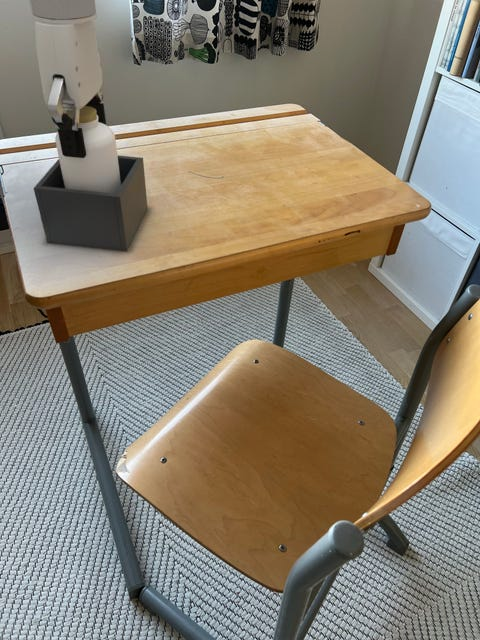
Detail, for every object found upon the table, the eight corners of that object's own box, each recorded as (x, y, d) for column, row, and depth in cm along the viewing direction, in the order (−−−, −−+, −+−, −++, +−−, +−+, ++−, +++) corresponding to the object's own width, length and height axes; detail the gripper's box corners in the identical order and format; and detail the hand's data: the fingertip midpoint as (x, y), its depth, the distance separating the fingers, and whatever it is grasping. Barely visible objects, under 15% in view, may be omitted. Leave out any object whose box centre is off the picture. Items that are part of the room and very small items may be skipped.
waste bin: (47, 245, 79) (33, 188, 73) (76, 204, 88) (65, 150, 82) (127, 254, 78) (120, 196, 72) (148, 211, 88) (143, 157, 81)
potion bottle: (129, 211, 86) (117, 102, 74) (119, 239, 80) (104, 124, 68) (80, 208, 86) (59, 98, 74) (66, 236, 80) (41, 121, 68)
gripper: (60, -13, 69) (81, 117, 80) (-1, 18, 56) (36, 167, 68) (114, -9, 68) (128, 121, 80) (66, 23, 55) (91, 173, 67)
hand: (85, 142), depth 74 cm, fingers closed on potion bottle, 8 cm apart
